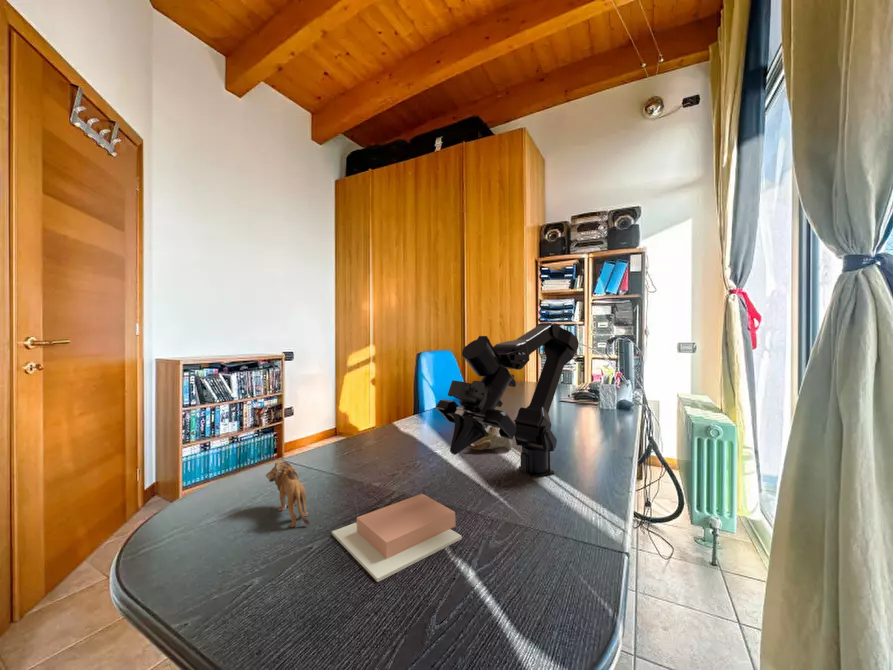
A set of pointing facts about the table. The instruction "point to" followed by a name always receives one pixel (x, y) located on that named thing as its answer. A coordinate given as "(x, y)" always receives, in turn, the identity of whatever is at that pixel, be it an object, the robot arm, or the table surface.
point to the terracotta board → (405, 524)
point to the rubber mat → (387, 567)
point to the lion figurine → (289, 490)
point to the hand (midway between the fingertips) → (452, 453)
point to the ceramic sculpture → (493, 441)
